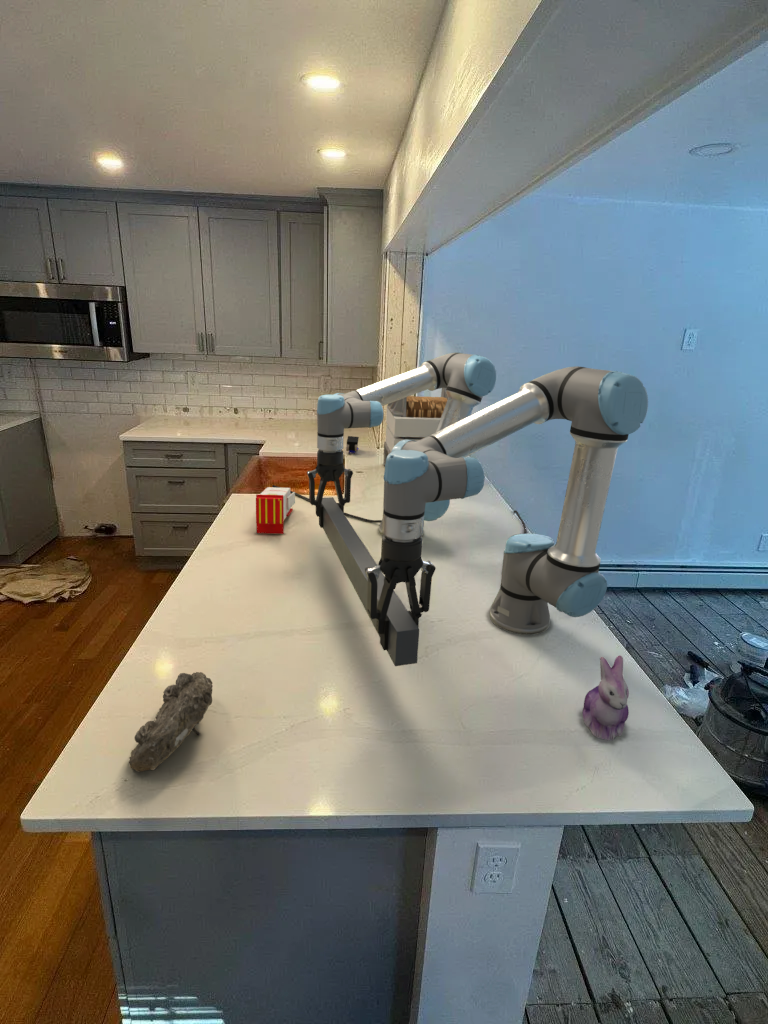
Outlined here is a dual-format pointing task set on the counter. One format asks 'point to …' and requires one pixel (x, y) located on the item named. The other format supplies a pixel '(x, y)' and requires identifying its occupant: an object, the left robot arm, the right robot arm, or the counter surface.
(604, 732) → the figurine
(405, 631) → the bar
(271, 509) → the toy
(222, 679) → the counter surface
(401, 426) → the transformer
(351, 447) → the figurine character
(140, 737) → the fossil
